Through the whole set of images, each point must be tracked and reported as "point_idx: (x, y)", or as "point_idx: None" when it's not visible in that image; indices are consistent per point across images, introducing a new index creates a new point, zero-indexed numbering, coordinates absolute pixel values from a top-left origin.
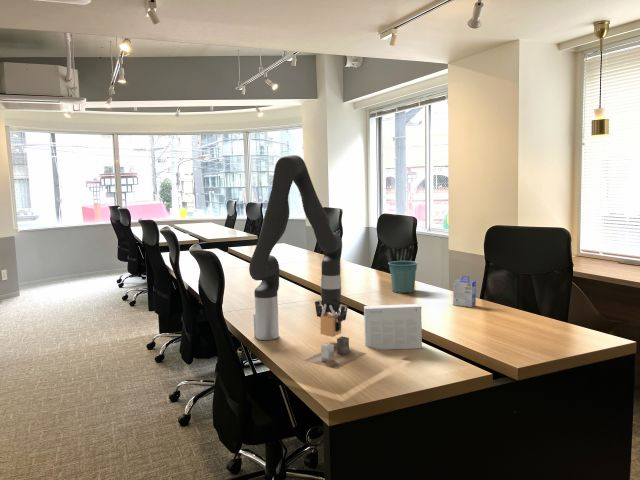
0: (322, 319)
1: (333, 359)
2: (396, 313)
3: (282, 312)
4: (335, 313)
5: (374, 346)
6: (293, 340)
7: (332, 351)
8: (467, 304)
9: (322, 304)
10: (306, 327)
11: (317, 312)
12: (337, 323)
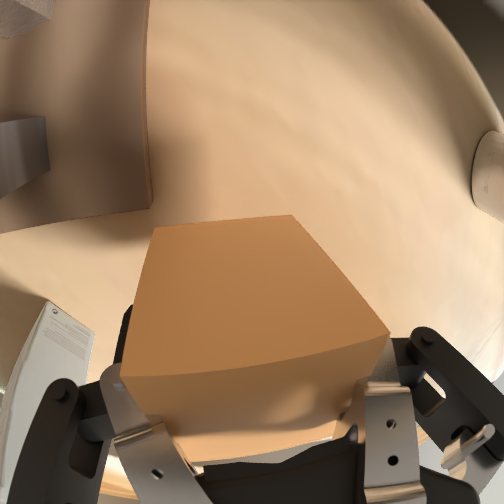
0: (335, 309)
1: (9, 35)
2: None
3: (475, 336)
4: (133, 476)
5: (31, 330)
6: (426, 189)
7: None
8: None
9: (448, 491)
10: (423, 322)
11: (449, 359)
12: None
